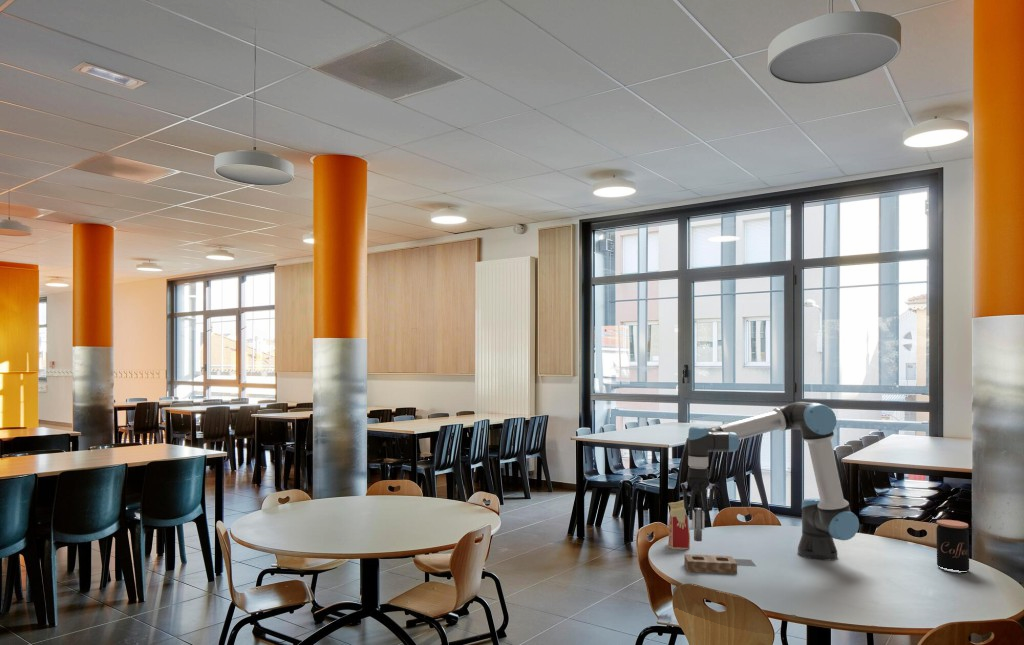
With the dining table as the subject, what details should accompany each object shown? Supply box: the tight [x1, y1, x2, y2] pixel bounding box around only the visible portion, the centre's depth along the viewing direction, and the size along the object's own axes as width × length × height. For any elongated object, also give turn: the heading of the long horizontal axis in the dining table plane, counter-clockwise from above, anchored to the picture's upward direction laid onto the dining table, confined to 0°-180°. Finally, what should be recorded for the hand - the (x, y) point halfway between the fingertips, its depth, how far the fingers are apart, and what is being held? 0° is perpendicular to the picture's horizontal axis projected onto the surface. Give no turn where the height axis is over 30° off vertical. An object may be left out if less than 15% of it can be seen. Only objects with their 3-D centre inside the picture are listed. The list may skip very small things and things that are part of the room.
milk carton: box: [667, 499, 691, 551], centre depth 298 cm, size 9×9×20 cm
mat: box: [733, 558, 757, 567], centre depth 274 cm, size 9×9×1 cm
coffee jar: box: [935, 519, 970, 572], centre depth 271 cm, size 11×11×18 cm
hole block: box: [683, 553, 738, 574], centre depth 266 cm, size 18×10×4 cm, turn 84°
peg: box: [693, 507, 703, 542], centre depth 267 cm, size 3×3×12 cm
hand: (698, 528), depth 267 cm, fingers closed on peg, 3 cm apart
